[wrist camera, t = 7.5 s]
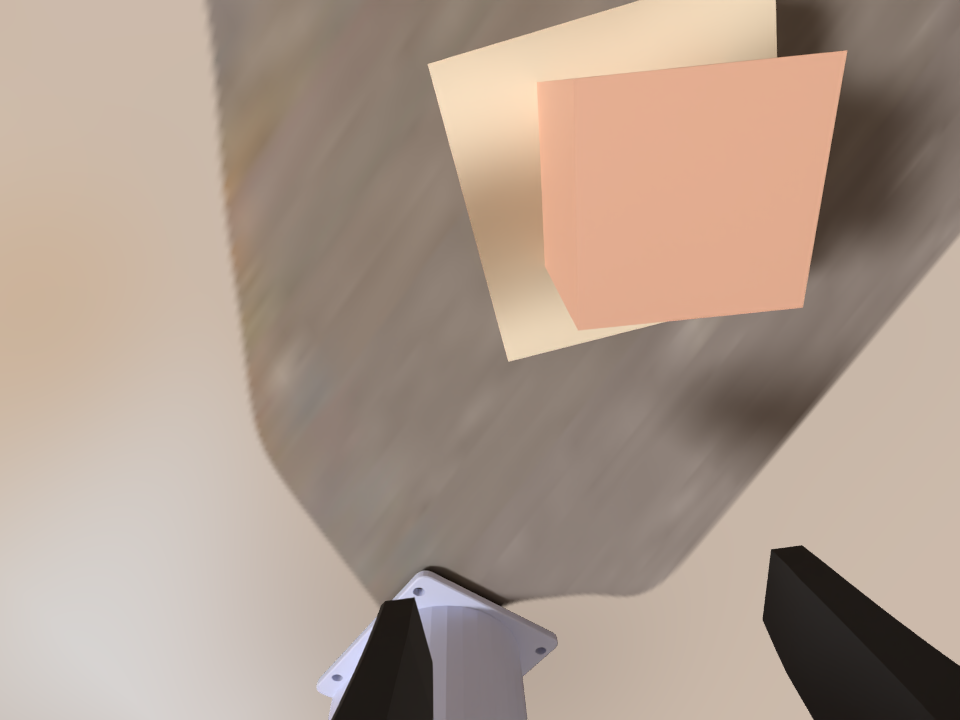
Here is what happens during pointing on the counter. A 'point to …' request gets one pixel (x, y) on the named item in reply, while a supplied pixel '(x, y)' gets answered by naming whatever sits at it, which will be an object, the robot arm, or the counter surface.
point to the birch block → (515, 134)
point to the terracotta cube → (685, 187)
